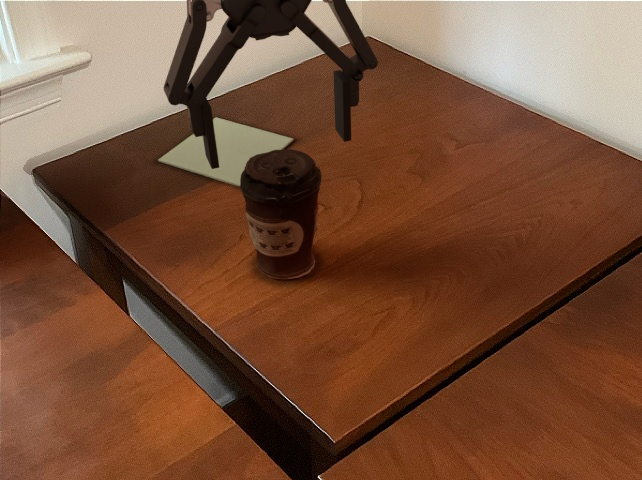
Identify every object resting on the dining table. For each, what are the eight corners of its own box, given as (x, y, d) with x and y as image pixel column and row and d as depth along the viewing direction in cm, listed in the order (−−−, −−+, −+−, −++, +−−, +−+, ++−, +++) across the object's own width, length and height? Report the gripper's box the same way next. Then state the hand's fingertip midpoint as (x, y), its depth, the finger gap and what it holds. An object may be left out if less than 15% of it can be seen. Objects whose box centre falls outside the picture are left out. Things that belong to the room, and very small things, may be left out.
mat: (158, 161, 108) (157, 159, 108) (216, 119, 117) (215, 117, 117) (239, 186, 103) (239, 185, 103) (293, 140, 112) (293, 138, 112)
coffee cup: (306, 296, 87) (300, 194, 79) (235, 280, 89) (222, 179, 81) (334, 248, 93) (331, 149, 85) (267, 235, 95) (258, 137, 87)
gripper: (116, -39, 62) (161, 193, 76) (415, -79, 69) (408, 141, 82) (103, -67, 68) (147, 154, 81) (382, -101, 75) (380, 108, 88)
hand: (279, 148), depth 82 cm, fingers open, 13 cm apart
